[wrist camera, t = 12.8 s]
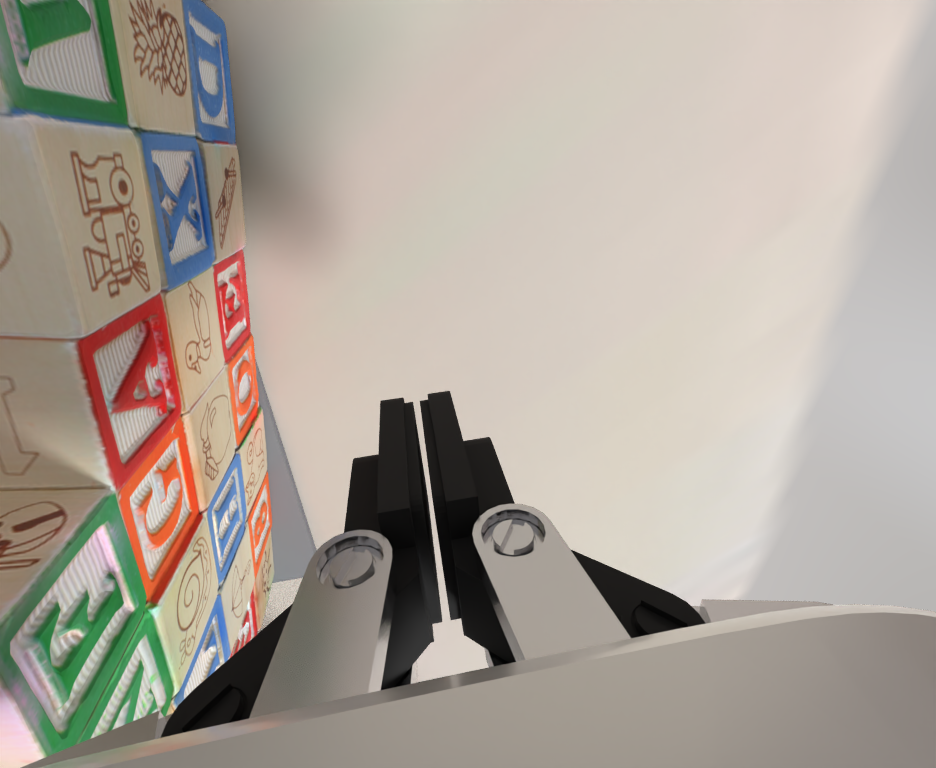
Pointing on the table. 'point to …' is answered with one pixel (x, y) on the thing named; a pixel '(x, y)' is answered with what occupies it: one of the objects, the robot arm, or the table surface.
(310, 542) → the mat
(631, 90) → the table surface
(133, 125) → the stack of blocks
